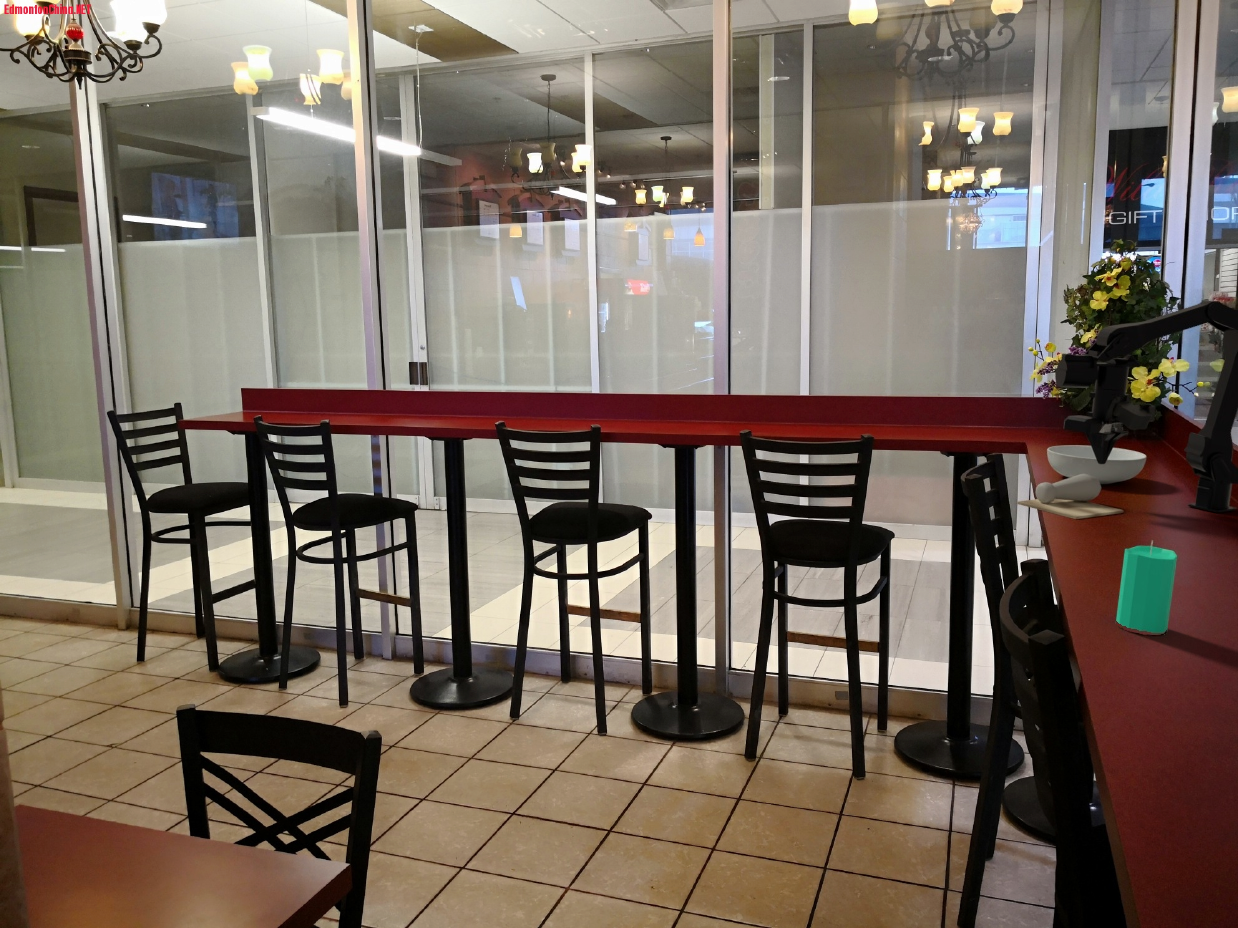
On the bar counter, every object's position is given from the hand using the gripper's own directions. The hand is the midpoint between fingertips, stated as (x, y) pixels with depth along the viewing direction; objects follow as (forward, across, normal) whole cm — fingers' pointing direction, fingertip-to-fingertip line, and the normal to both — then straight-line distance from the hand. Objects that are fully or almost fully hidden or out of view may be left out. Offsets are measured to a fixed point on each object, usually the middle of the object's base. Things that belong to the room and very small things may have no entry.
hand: (1101, 464), depth 199 cm
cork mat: (+9, -8, 0) cm, 12 cm away
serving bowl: (+9, +22, +18) cm, 30 cm away
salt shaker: (+5, 0, +1) cm, 5 cm away
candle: (+9, -60, -52) cm, 80 cm away
